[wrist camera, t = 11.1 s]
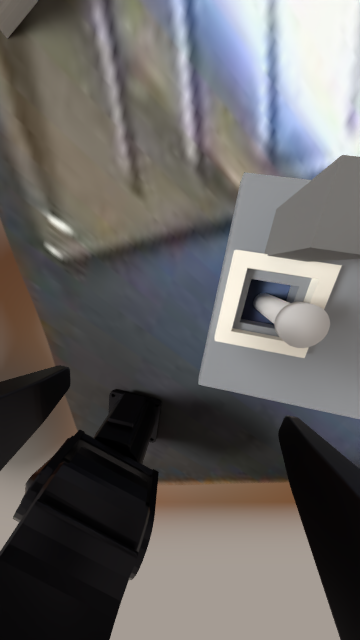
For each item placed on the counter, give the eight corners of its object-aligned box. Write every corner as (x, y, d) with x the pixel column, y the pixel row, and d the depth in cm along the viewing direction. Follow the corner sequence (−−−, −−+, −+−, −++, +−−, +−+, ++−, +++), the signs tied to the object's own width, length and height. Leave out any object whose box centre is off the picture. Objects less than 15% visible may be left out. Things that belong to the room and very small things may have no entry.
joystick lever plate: (298, 353, 17) (360, 409, 10) (214, 337, 17) (220, 379, 11) (351, 218, 13) (494, 170, 7) (244, 204, 14) (279, 148, 7)
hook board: (356, 409, 19) (448, 495, 12) (198, 376, 21) (195, 435, 13) (467, 208, 14) (767, 141, 6) (240, 181, 15) (273, 101, 8)
